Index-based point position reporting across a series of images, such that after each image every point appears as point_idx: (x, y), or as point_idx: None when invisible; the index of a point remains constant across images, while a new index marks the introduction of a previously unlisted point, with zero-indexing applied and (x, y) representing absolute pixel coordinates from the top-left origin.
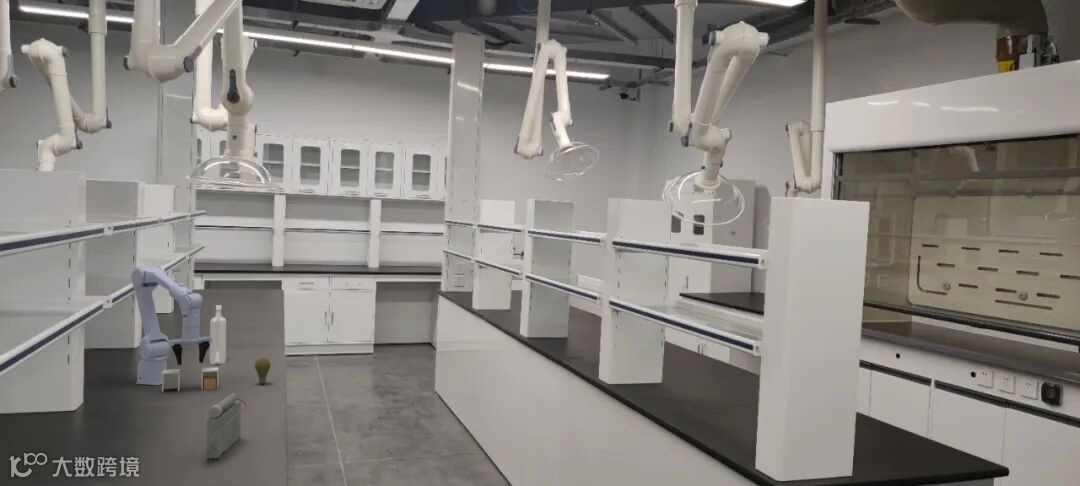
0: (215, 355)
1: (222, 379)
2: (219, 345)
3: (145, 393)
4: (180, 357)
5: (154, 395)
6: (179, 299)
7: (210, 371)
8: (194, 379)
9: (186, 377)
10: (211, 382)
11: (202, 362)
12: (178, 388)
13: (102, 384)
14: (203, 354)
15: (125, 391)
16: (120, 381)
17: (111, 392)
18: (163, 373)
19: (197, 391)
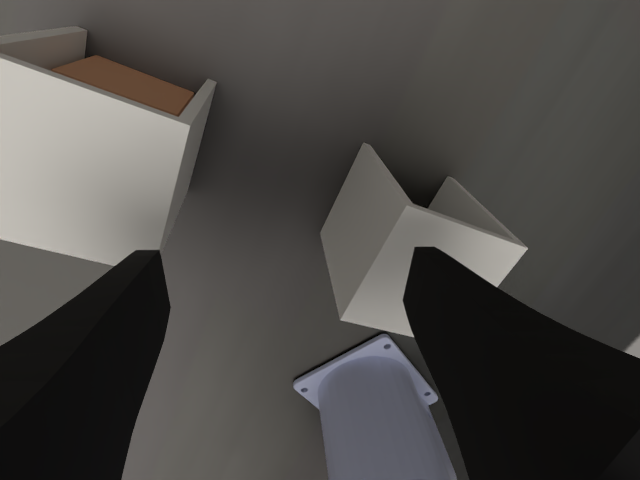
0: None
1: (10, 309)
2: None
3: (523, 209)
4: (486, 297)
5: (527, 127)
6: None
7: (81, 84)
8: (177, 370)
9: (203, 415)
10: (114, 78)
11: (140, 250)
12: (372, 151)
13: None
14: (80, 319)
15: (548, 298)
16: (448, 442)
17: (594, 309)
18: (517, 243)
19: (258, 56)
